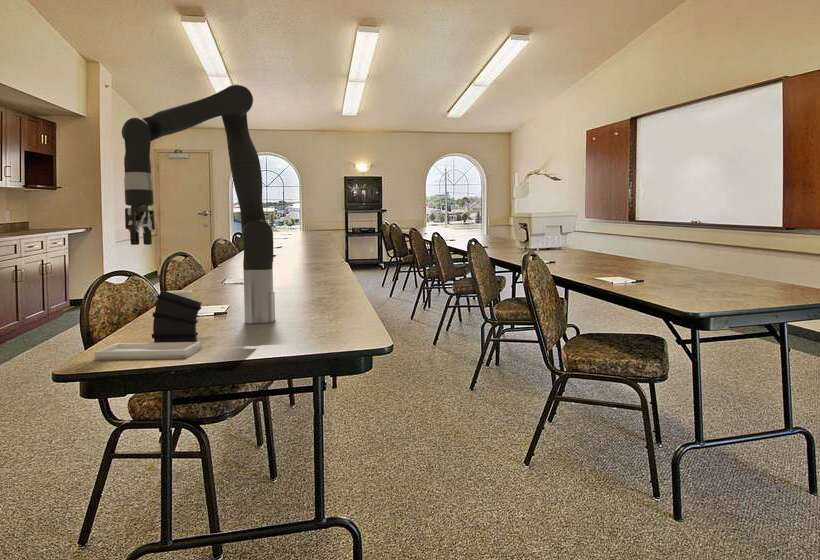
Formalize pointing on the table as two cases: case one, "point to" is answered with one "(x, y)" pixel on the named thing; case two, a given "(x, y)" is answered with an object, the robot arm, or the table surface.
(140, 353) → the cradle
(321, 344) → the table surface
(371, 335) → the table surface
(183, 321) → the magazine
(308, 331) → the table surface
